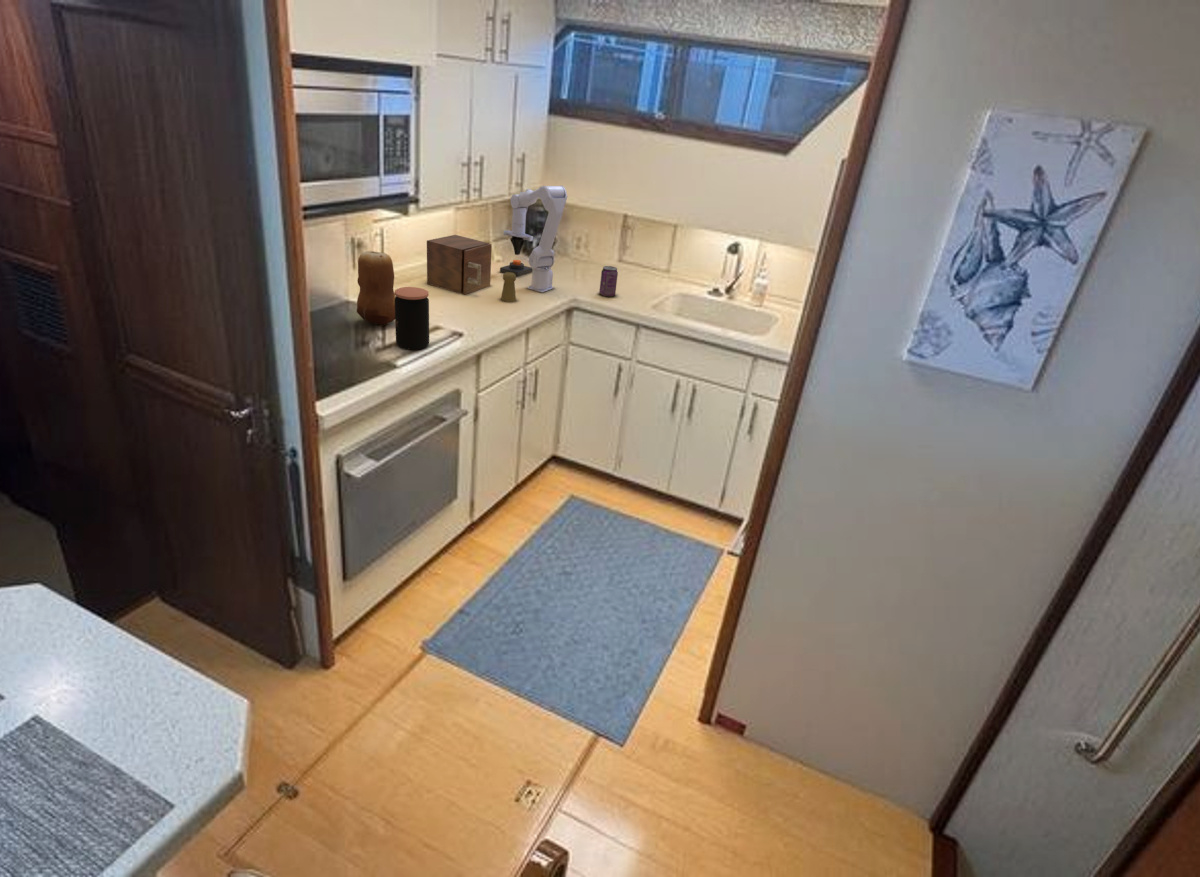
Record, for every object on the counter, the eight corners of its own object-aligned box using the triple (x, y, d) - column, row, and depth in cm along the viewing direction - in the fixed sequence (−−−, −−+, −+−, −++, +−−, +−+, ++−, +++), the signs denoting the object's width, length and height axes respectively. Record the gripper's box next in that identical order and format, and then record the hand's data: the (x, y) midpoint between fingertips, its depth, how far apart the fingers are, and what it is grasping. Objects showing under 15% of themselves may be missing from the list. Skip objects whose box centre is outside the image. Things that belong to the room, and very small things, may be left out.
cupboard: (487, 285, 296) (489, 243, 288) (461, 293, 282) (461, 249, 274) (454, 276, 303) (455, 234, 295) (427, 283, 289) (426, 240, 281)
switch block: (514, 267, 326) (515, 259, 324) (532, 272, 322) (533, 263, 320) (499, 272, 317) (500, 263, 315) (517, 277, 313) (518, 268, 311)
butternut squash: (391, 315, 250) (389, 246, 239) (404, 328, 241) (402, 256, 229) (352, 319, 243) (348, 247, 231) (364, 331, 233) (360, 258, 222)
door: (501, 288, 294) (503, 246, 286) (477, 297, 279) (478, 253, 271) (488, 285, 296) (489, 243, 288) (463, 294, 282) (463, 250, 273)
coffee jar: (407, 337, 234) (405, 284, 225) (435, 343, 231) (435, 290, 223) (389, 346, 224) (387, 292, 216) (418, 353, 222) (417, 299, 214)
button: (515, 263, 320) (515, 259, 319) (522, 264, 319) (522, 261, 318) (511, 264, 317) (511, 260, 316) (517, 266, 316) (517, 262, 315)
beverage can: (605, 291, 308) (608, 264, 302) (618, 295, 304) (621, 268, 299) (595, 294, 302) (598, 267, 297) (609, 298, 299) (612, 271, 293)
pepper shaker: (513, 302, 278) (514, 275, 273) (498, 300, 279) (500, 273, 274) (517, 298, 284) (519, 272, 278) (503, 296, 284) (504, 270, 279)
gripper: (499, 221, 301) (498, 252, 307) (527, 227, 295) (525, 259, 302) (509, 219, 307) (508, 250, 313) (536, 225, 301) (534, 256, 307)
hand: (517, 254), depth 308 cm, fingers closed
